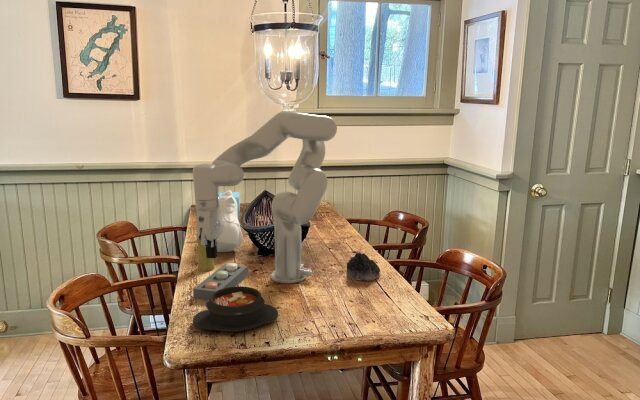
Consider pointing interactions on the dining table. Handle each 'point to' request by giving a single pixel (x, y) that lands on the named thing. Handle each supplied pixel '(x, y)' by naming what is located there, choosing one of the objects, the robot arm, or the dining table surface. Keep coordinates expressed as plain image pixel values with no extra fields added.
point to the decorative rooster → (229, 224)
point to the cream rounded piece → (231, 267)
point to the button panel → (220, 282)
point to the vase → (204, 258)
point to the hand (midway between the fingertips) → (212, 257)
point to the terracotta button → (211, 285)
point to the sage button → (222, 275)
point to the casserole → (235, 310)
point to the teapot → (236, 196)
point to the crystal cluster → (362, 268)
